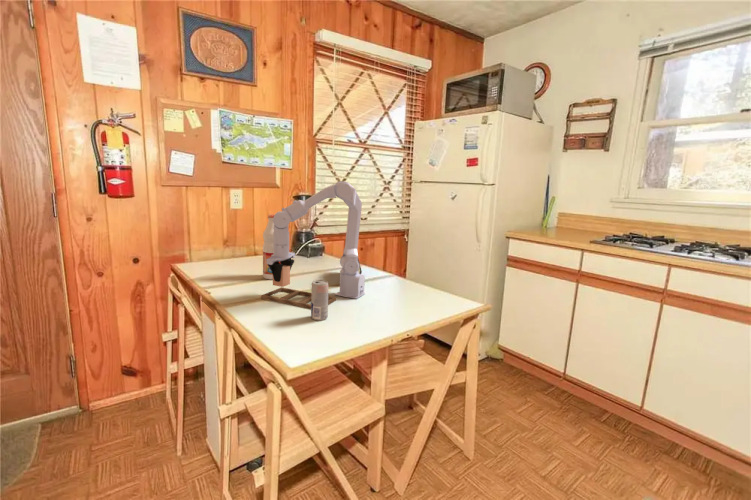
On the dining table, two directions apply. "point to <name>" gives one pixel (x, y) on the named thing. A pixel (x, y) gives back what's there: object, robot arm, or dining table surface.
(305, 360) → the dining table surface
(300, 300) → the wooden divided frame
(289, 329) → the dining table surface
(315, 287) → the energy drink
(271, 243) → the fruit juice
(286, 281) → the terracotta block
